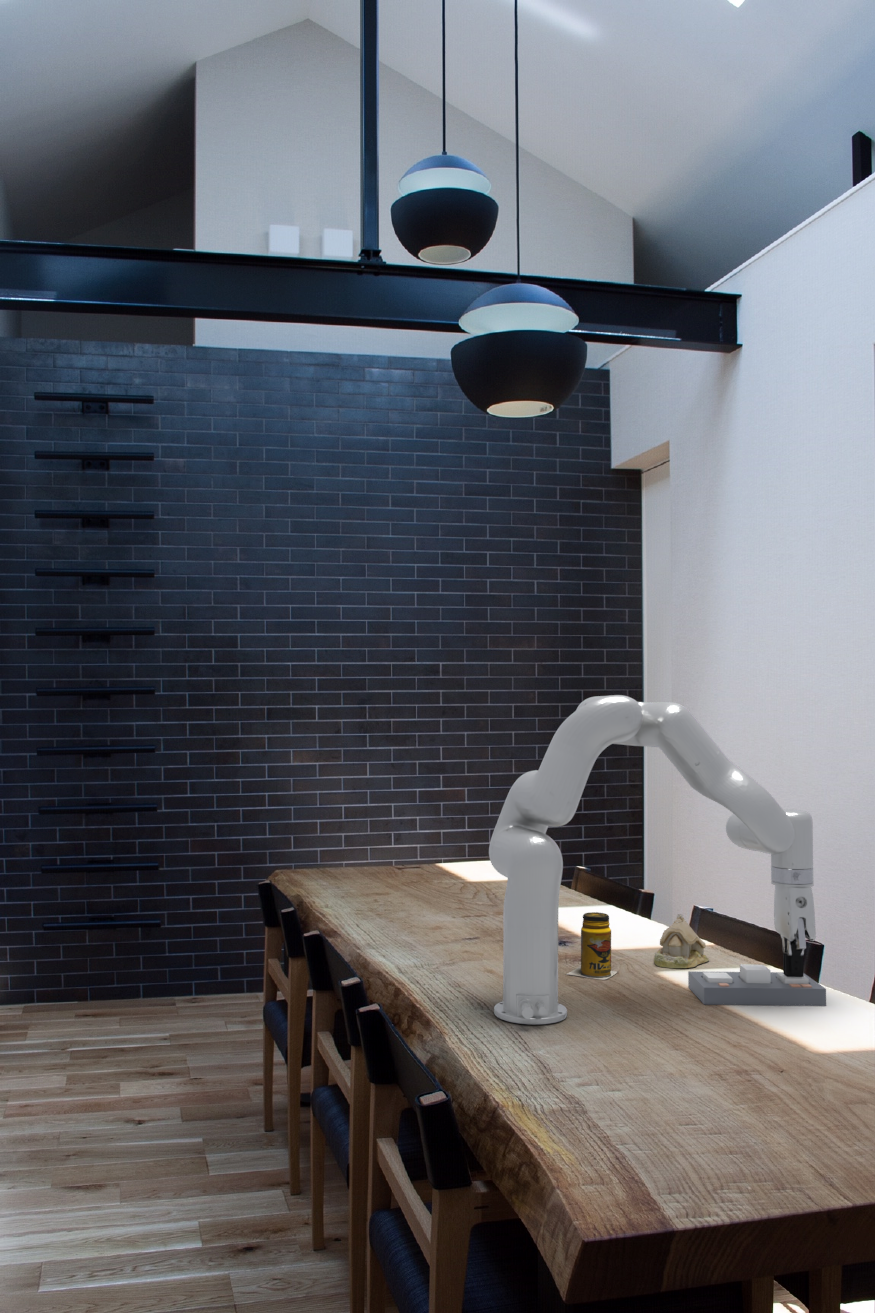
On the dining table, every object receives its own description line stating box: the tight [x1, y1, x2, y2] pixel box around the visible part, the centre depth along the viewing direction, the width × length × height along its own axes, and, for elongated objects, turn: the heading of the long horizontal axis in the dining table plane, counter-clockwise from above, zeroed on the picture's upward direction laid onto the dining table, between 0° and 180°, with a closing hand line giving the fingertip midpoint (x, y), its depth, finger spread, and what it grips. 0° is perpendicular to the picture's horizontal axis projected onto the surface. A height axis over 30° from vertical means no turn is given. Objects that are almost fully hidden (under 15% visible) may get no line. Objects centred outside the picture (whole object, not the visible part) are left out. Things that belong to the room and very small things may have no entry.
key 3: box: [702, 971, 733, 983], centre depth 196 cm, size 4×4×4 cm
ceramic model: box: [653, 913, 710, 969], centre depth 224 cm, size 14×11×10 cm
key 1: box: [777, 973, 809, 984], centre depth 196 cm, size 4×4×4 cm
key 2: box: [739, 963, 772, 983], centre depth 196 cm, size 4×4×4 cm
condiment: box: [566, 911, 618, 981], centre depth 212 cm, size 7×8×12 cm
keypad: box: [687, 970, 827, 1007], centre depth 196 cm, size 12×22×3 cm, turn 90°
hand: (793, 976), depth 196 cm, fingers closed
